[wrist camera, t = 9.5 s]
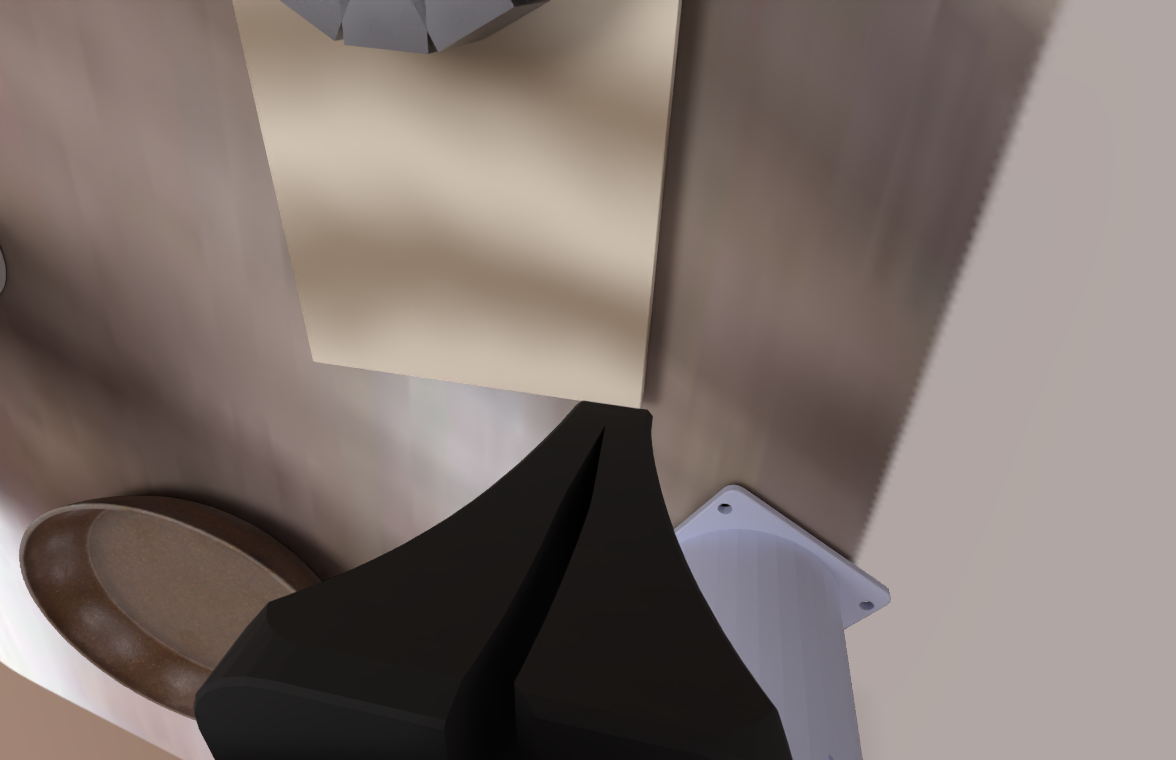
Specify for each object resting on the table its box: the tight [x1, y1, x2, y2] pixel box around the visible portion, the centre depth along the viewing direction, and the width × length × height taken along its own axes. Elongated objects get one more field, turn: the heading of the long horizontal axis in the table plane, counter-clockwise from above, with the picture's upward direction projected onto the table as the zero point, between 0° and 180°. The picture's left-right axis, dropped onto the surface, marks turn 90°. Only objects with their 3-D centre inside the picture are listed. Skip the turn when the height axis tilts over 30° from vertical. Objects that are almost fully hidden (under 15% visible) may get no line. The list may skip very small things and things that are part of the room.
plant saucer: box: [19, 496, 321, 720], centre depth 34 cm, size 18×18×3 cm
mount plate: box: [232, 0, 682, 409], centre depth 18 cm, size 20×12×1 cm, turn 178°
